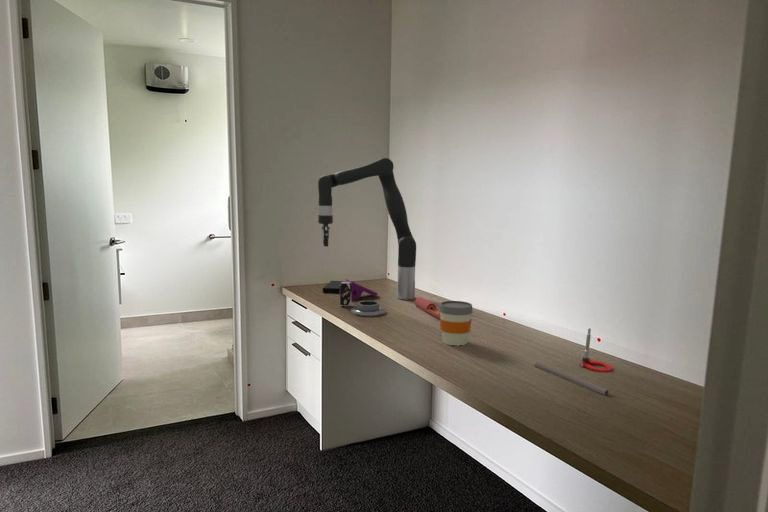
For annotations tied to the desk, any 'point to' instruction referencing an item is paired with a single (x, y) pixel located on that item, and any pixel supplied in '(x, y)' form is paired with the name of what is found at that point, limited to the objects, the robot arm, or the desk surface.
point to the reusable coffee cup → (455, 321)
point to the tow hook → (587, 361)
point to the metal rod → (572, 378)
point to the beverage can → (345, 294)
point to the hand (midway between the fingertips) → (325, 245)
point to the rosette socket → (368, 308)
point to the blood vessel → (427, 307)
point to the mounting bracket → (359, 290)
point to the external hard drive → (333, 287)
